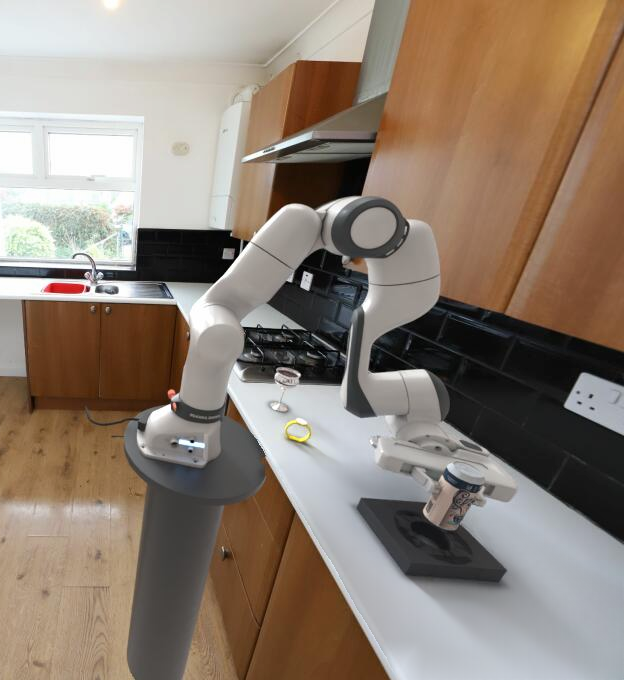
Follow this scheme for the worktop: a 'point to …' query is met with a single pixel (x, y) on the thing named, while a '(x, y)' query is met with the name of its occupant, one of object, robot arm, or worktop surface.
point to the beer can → (454, 495)
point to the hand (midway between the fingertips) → (457, 497)
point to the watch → (301, 423)
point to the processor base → (420, 558)
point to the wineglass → (285, 384)
